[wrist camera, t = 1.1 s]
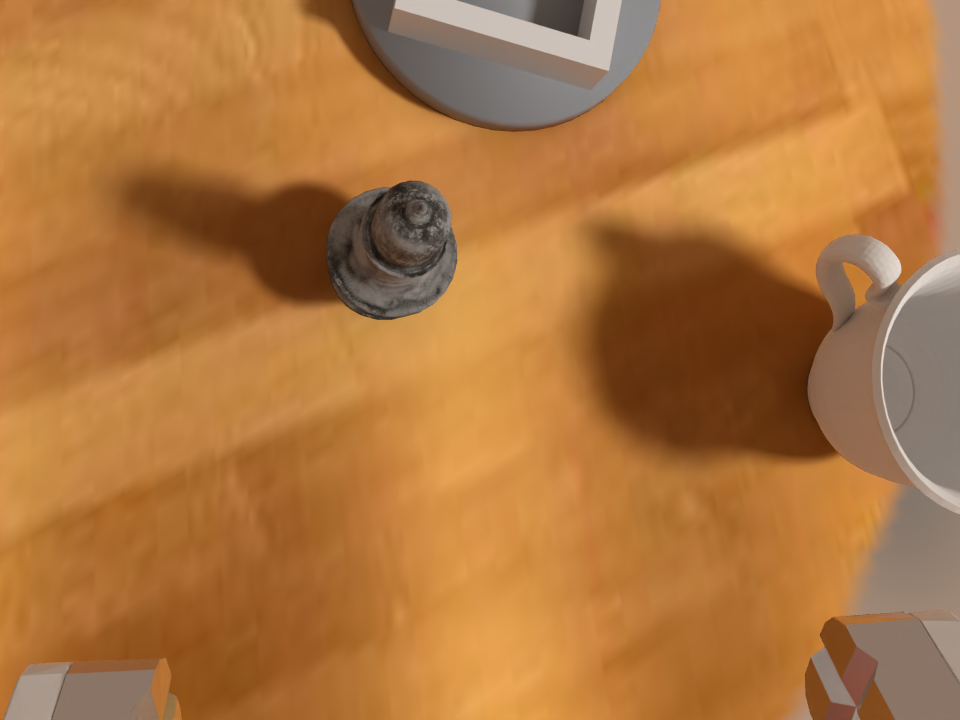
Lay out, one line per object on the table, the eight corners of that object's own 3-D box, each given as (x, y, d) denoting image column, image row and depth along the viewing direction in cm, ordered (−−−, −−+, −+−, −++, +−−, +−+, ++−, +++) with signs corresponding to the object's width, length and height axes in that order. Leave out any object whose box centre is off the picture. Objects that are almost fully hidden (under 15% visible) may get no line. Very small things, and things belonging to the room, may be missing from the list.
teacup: (814, 197, 49) (947, 140, 39) (987, 391, 50) (1156, 383, 41) (672, 350, 46) (776, 330, 37) (858, 549, 48) (1006, 581, 38)
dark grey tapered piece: (352, 344, 43) (379, 314, 31) (302, 231, 43) (311, 158, 31) (462, 298, 44) (528, 252, 32) (414, 189, 44) (463, 103, 32)
